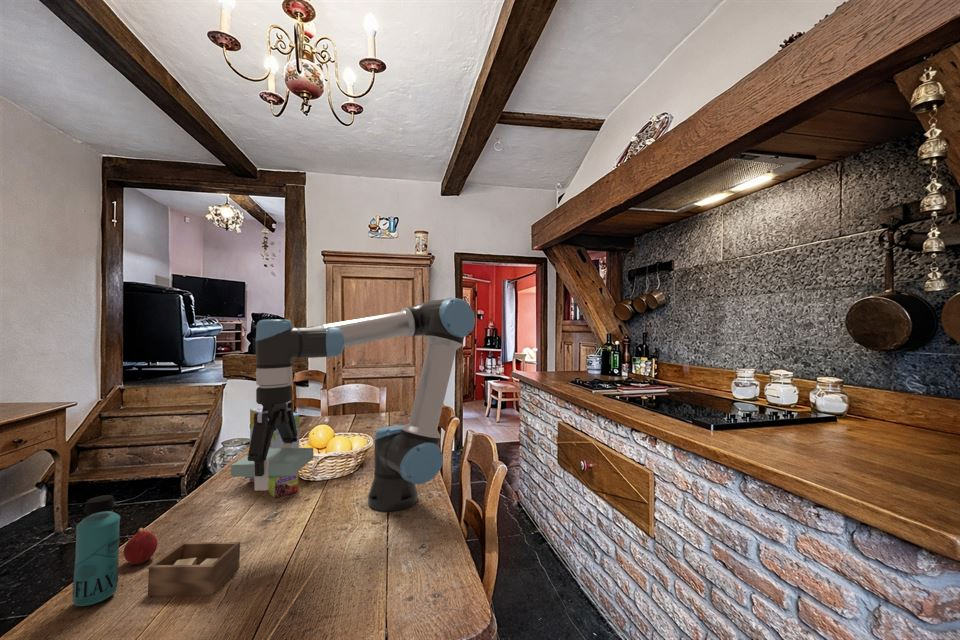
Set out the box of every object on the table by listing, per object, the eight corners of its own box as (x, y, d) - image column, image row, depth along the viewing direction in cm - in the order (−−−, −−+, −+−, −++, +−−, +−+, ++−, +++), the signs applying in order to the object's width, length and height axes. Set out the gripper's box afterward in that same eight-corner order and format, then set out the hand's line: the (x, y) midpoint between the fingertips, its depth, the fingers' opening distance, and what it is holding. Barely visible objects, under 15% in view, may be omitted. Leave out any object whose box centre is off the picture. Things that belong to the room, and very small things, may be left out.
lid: (313, 462, 99) (313, 447, 99) (293, 480, 88) (293, 463, 88) (258, 464, 99) (258, 448, 99) (231, 482, 87) (230, 464, 87)
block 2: (223, 575, 85) (223, 558, 85) (212, 585, 82) (213, 568, 82) (206, 575, 85) (206, 558, 85) (195, 585, 82) (195, 568, 82)
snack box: (246, 482, 140) (248, 408, 141) (272, 475, 147) (274, 405, 147) (272, 499, 126) (274, 416, 127) (300, 491, 132) (302, 412, 133)
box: (239, 569, 88) (240, 542, 89) (211, 597, 79) (212, 566, 79) (181, 570, 88) (182, 542, 88) (147, 598, 79) (148, 567, 79)
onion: (163, 560, 92) (164, 524, 92) (134, 574, 86) (135, 536, 87) (145, 555, 94) (147, 520, 94) (116, 569, 88) (118, 532, 89)
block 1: (196, 574, 86) (196, 557, 86) (189, 584, 82) (189, 566, 82) (176, 576, 85) (177, 560, 85) (169, 587, 81) (169, 569, 81)
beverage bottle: (64, 619, 73) (69, 507, 73) (79, 598, 79) (84, 494, 79) (111, 608, 76) (115, 501, 76) (123, 588, 82) (127, 489, 82)
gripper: (282, 379, 106) (282, 462, 105) (227, 394, 82) (228, 501, 81) (310, 378, 106) (311, 461, 105) (264, 393, 82) (265, 500, 82)
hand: (275, 479), depth 93 cm, fingers closed on lid, 11 cm apart
